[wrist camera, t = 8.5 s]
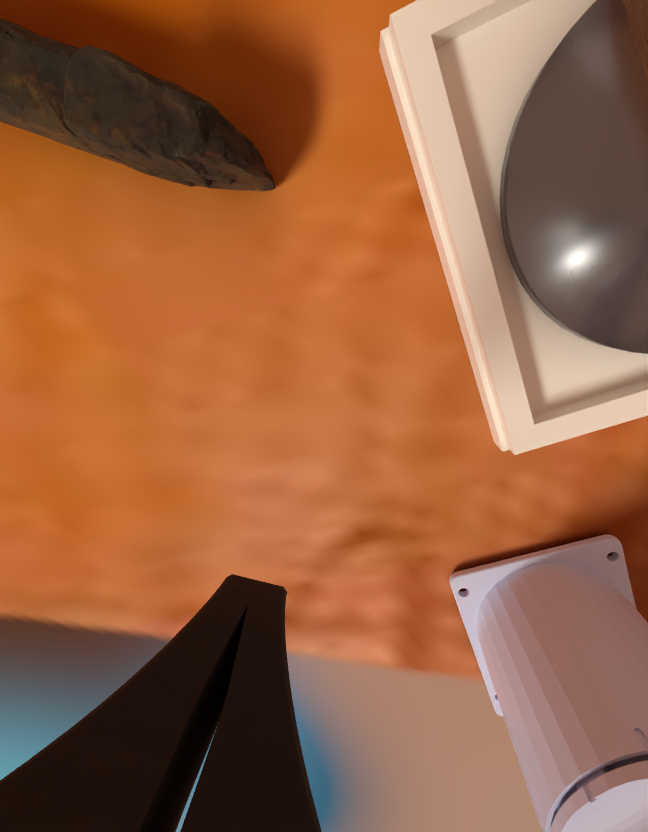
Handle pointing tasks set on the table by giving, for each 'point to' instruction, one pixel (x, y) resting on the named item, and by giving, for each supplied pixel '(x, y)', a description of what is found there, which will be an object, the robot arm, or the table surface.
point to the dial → (585, 180)
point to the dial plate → (497, 213)
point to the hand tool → (121, 114)
